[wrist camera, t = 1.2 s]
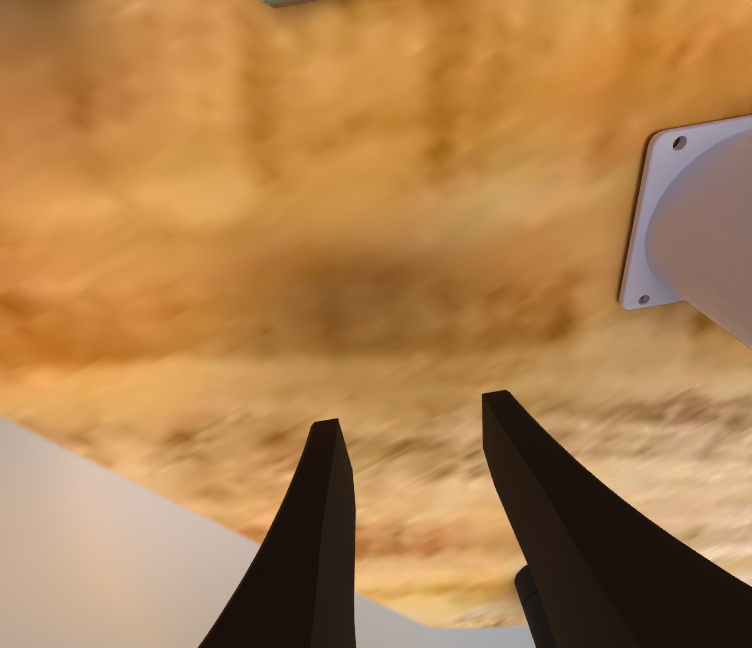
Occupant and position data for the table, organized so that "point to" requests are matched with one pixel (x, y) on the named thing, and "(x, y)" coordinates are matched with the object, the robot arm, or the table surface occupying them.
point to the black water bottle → (534, 609)
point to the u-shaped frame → (283, 2)
